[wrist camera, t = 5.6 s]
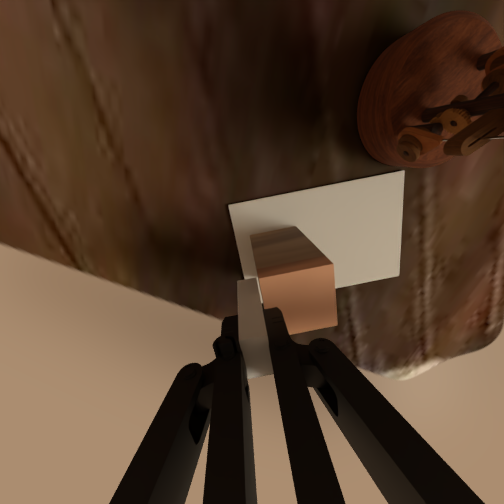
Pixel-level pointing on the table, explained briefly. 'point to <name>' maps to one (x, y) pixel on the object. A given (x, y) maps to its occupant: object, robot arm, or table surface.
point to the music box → (434, 93)
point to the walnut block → (295, 279)
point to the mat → (333, 225)
